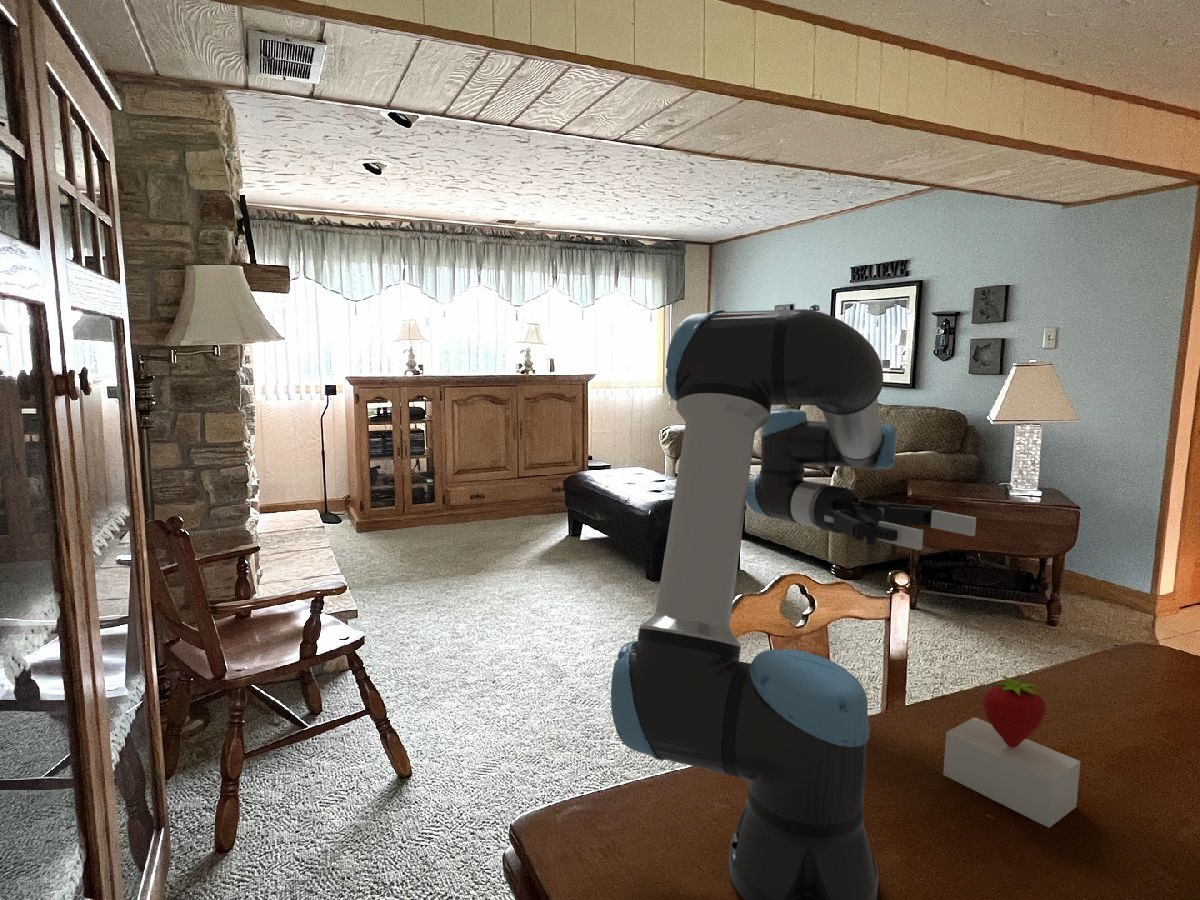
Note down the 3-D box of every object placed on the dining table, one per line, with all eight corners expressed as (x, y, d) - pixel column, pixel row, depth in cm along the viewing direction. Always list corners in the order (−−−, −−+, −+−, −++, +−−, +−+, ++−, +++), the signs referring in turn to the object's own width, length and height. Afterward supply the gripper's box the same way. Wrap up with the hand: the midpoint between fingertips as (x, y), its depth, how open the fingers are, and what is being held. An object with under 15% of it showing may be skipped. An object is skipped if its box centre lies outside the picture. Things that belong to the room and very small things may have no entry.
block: (1049, 827, 84) (1053, 780, 83) (943, 774, 95) (946, 732, 94) (1076, 807, 88) (1080, 761, 87) (971, 758, 99) (974, 717, 98)
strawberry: (968, 737, 93) (973, 663, 91) (1017, 730, 94) (1023, 658, 93) (1003, 762, 87) (1009, 684, 86) (1055, 754, 89) (1061, 678, 87)
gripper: (870, 519, 127) (992, 546, 109) (773, 539, 113) (894, 573, 95) (873, 477, 126) (996, 497, 108) (774, 493, 112) (898, 518, 94)
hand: (949, 533), depth 102 cm, fingers open, 13 cm apart
